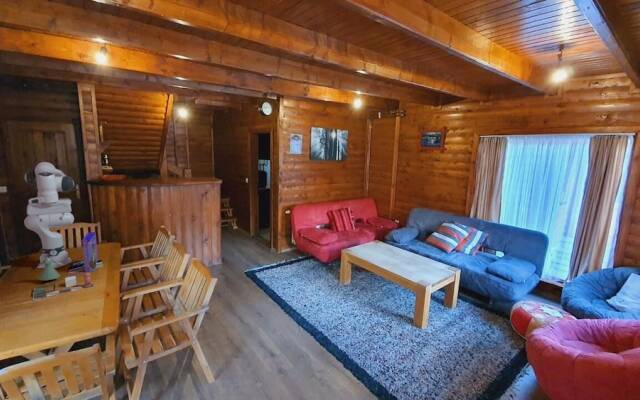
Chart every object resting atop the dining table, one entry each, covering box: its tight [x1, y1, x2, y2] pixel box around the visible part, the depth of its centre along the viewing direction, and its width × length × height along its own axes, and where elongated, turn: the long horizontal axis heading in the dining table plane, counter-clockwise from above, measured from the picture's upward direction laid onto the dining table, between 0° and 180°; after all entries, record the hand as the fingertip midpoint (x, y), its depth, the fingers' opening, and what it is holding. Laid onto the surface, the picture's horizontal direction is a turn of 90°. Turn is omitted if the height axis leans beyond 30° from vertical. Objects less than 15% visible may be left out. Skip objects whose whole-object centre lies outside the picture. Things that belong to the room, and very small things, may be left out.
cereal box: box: [81, 231, 99, 273], centre depth 208 cm, size 17×5×24 cm, turn 29°
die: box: [64, 275, 77, 288], centre depth 183 cm, size 5×5×5 cm
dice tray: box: [32, 282, 57, 297], centre depth 175 cm, size 10×10×2 cm
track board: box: [32, 283, 94, 301], centre depth 175 cm, size 5×28×1 cm, turn 131°
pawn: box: [83, 272, 93, 289], centre depth 181 cm, size 4×4×9 cm
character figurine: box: [29, 255, 63, 283], centre depth 184 cm, size 16×8×18 cm, turn 123°
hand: (51, 220), depth 179 cm, fingers open, 8 cm apart
